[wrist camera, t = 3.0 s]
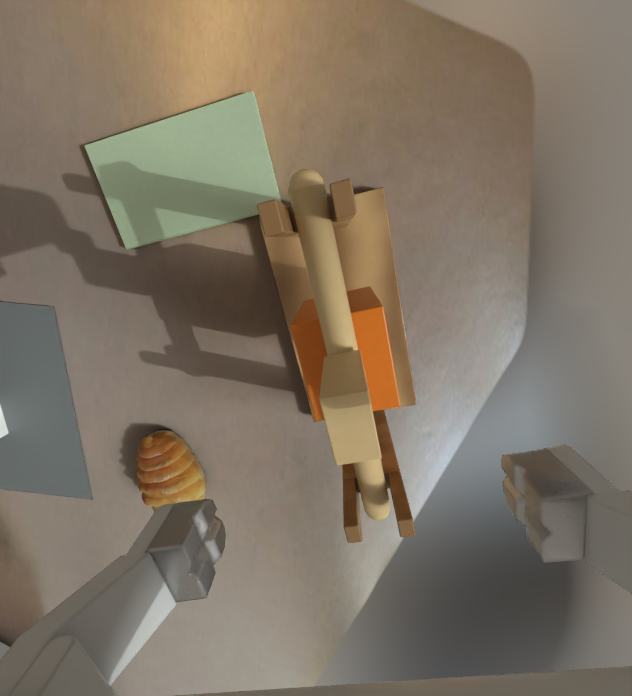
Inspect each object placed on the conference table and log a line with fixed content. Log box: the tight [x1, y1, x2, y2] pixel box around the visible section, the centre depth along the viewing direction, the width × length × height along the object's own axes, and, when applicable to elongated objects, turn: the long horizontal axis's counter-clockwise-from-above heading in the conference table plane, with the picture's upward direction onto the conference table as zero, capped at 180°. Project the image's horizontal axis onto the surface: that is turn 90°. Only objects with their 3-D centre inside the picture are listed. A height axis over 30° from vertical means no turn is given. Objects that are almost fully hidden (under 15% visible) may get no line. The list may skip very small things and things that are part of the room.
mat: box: [84, 91, 282, 249], centre depth 26 cm, size 14×8×1 cm, turn 103°
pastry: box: [136, 430, 206, 513], centre depth 34 cm, size 9×7×4 cm
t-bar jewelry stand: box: [288, 169, 400, 520], centre depth 18 cm, size 5×20×13 cm, turn 13°
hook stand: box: [257, 179, 416, 543], centre depth 22 cm, size 10×19×16 cm, turn 13°
